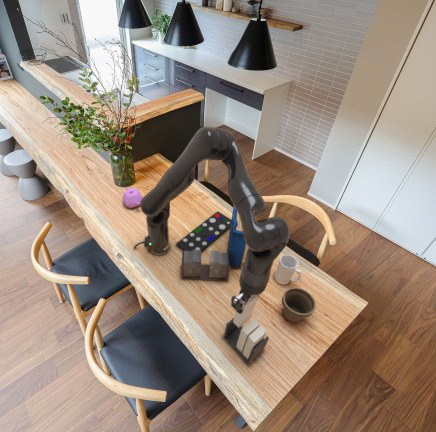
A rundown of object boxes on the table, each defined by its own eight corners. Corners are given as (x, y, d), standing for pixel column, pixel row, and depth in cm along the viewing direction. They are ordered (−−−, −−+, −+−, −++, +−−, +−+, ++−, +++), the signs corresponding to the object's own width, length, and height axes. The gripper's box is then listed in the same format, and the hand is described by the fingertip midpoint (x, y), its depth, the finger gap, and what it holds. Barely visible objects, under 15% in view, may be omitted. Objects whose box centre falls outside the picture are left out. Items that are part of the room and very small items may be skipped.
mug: (270, 278, 129) (276, 260, 121) (279, 269, 132) (286, 251, 124) (291, 293, 124) (299, 276, 115) (300, 283, 127) (308, 266, 119)
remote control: (234, 224, 152) (235, 221, 151) (193, 258, 137) (194, 255, 136) (217, 213, 158) (217, 210, 157) (176, 245, 143) (176, 242, 141)
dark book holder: (223, 337, 111) (227, 318, 101) (238, 325, 115) (243, 305, 104) (248, 364, 104) (255, 347, 94) (263, 351, 108) (271, 332, 97)
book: (241, 271, 132) (250, 232, 114) (225, 268, 133) (231, 229, 115) (243, 234, 147) (252, 195, 129) (229, 232, 148) (235, 193, 130)
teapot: (137, 193, 170) (135, 180, 164) (148, 209, 161) (147, 195, 154) (119, 199, 167) (117, 186, 160) (130, 216, 157) (128, 202, 151)
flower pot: (302, 300, 122) (309, 286, 115) (312, 327, 113) (320, 314, 106) (273, 301, 122) (279, 287, 114) (281, 328, 113) (288, 315, 106)
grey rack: (181, 279, 130) (181, 262, 121) (182, 264, 135) (182, 247, 127) (227, 281, 128) (230, 264, 120) (226, 266, 134) (229, 249, 125)
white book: (232, 322, 101) (238, 300, 91) (245, 311, 104) (251, 289, 94) (238, 328, 100) (244, 306, 90) (251, 317, 102) (258, 295, 92)
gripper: (261, 253, 89) (252, 284, 100) (226, 279, 82) (221, 309, 94) (282, 269, 84) (270, 300, 96) (247, 298, 78) (238, 328, 90)
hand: (246, 305), depth 95 cm, fingers closed on white book, 6 cm apart
